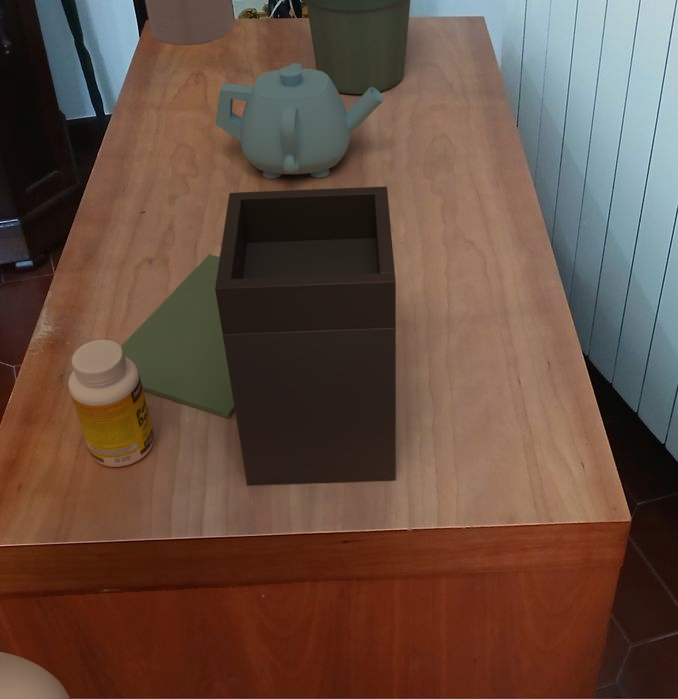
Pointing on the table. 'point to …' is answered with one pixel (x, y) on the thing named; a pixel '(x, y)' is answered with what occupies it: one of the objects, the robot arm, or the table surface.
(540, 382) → the table surface
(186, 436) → the table surface
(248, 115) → the teapot
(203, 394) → the green mat
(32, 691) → the robot arm
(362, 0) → the flower pot
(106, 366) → the supplement bottle
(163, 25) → the meat pounder
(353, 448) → the black box
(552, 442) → the table surface
